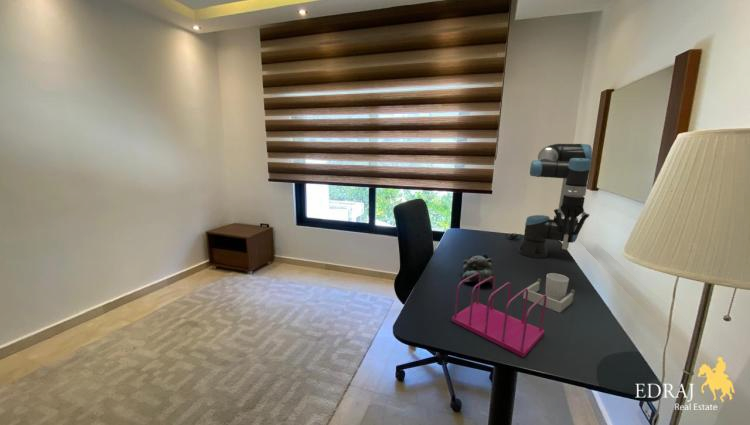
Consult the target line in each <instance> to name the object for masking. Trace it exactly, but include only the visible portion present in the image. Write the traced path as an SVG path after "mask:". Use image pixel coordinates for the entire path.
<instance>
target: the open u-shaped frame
mask: <svg viewBox="0 0 750 425" xmlns="http://www.w3.org/2000/svg"><path fill="white" fill-rule="evenodd" d="M541 281H542V279H541V278H537V281H536V282H534V283H532V284H530V285H529V286H527V287H526V289H528V298H527V301H529V302H532V303H533V304H534V303H535V302H536V301H537V300H538V299H539V298H540V297H541V296H543V295H544V294H541V293H537V292H538V291H540V288H541ZM575 292H576V291H575V289H571V290H570V292H569V293H568V294H566V295H565V298H563V299H562V300H561V301H557V300H555V299H552V298H549V297H547V300H546V306H545V308H546V309H549V310H551V311H554V312H557V313H562V312H563V311H564V310H565V309H566V308H567V307H569V306H570V305H571V304H572V303H573V302H574V298H575V297H574V296H575ZM522 296H523V297H522V299H524V300H525V298H526V291H524V292H523V295H522ZM543 304H544V298H543V299H542V300H541V301H539V302H538V303H537V304H536V305H540V306H542V307H543Z"/></svg>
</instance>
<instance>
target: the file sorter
mask: <svg viewBox="0 0 750 425" xmlns="http://www.w3.org/2000/svg"><path fill="white" fill-rule="evenodd" d="M478 274H479V282H477V283H476V285H474V286H473V287H472V291H471V295H470V297H471V298H470V305H469V306H467V307H465V308H464V309H463V310H461V311H459V312H458V313H457V311H458V306H459V304H458V303H459V302H458V301H459V292H460V287H461V285H462V284H463V283H465V282H464V281H466V280H468V279H470V278H472V277H474V276H476V275H478ZM491 278H493V282H492V289H491V294H490V295H489V297H488V300H487V304H486V305H485V304H482V303H480V302H479V298H480V291H481V290H480V289H481V285H482V284H484V283H487V282H486V281H488V280H490V279H491ZM458 283H459V284H458V285H457V287H456V288H457V289H456V297H455V306H454V308H455V309H454V315H453V316H452V317H451V322H452V323H455V324H456V325H458V326H460V327H462V328H464V329H466V330H468V331H471V332H472V333H474V334H476V335H478V336H480V337H482V338H484V339H486V340H488V341H490V342H492V343H494V344H496V345H498V346H500V347H502V348H504V349H506V350H508V351H510V352H512V353H513V354H515V355H518V356H519V357H521V358H525V356H526V355H527V354H528V353H529V352H530V351H531V350H532V349H533V348H534V346H535V345H537V343H538V342H539V341H540V340H541V339H542V338H543V337H544V334H545V329H543V323H544V317H545V311H546V307H545V306H546V300H547V296H546V295H545V294H542V295H543V296H541V297H540V298H539V299H538V300H537V301H536V302H535V303H534V302H533V304H532V305H530V307H529V308H528V309H527V303H528V300H527V298H528V289H526V288H527V287H526V288H523V289H521V291H519V292H517V294H515V295H514V296H513V297H512V298H511V292H512V283H511V282H509V281H508V282H506V283H504V284H502V285H501V286H500V287H499V288H497V289H496V290H495V285H496V279H495V276H494V277H493V276H491V277H489V278H487V279H485V280H484V281H482V282H481V275H480V273H476V274H474V275H472V276H470V277H468V278H466V279H464V280H463V279H462V280H461V281H460V282H458ZM506 286H509V287H508V295H507V301H506V307H505V312H502V311H499V310H498V309H497V310H496V309H495V308H493V305H494V297H495V296H494V295H496V294H497V293H498V292H499V291H501V290H502V289H504V288H505V287H506ZM476 289H477V294H476V295H477V296H476V301H475V302H474V296H475V294H474V293H475V290H476ZM524 291H526V298H525V299H524V306H523V311H522V312H523V313H522V319H521V320H520V319H518V318H516V317H515V316H514V317H513V316H511V315H509V314H508V313H509V307H510V305H511V303H512V302H514V300H515V299H517V298H518V297H520V296H521V295H522V294H524ZM543 298H544V304H543V306H542V311H541V312H542V313H541V317H540V323H539V327H537V326H534V325H532V324H529V323H528V319H529V315H530V312H531V311H532V310H533V308H534V307H536V306H537V305H538V304H537V303H538V302H539V301H541V300H542V299H543ZM526 310H527V312H526Z"/></svg>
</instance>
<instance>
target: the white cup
mask: <svg viewBox="0 0 750 425" xmlns="http://www.w3.org/2000/svg"><path fill="white" fill-rule="evenodd" d="M569 281H570V278H569V277H567V276H566V275H564V274H562V273H561V274H559V273H555V272H550V273H547V274H546V278H545V294H544V295H546V296H547V297H549V298H552V299H555V300H557V301H561V300H562V299H563V298H565V297H566V296H567V290H568V287H569Z"/></svg>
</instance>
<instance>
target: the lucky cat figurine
mask: <svg viewBox="0 0 750 425" xmlns="http://www.w3.org/2000/svg"><path fill="white" fill-rule="evenodd" d="M493 263H494V262H493V259H492V258H490V257H488V254H484V255H475V256H474V255H469V257H468V258H467V259H465V260H463V263H462V264H463V265H462V266H463V267H462V268H463V274H462V276H461V277H462V280H464V279H466V278H468V277H470V276H472V275H474V274H476V273H480V275H481V282H482V281H484V280H485V279H487V278H489V277H491V276H493V277H494V278H495V276H494V273H493ZM463 283H464V284H465V283H479V274H478V275H476V276H474V277H472V278H470V279H468V280H466V281H464V282H463ZM485 283H493V278H491V279H490V280H488V281H486V282H485Z"/></svg>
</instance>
